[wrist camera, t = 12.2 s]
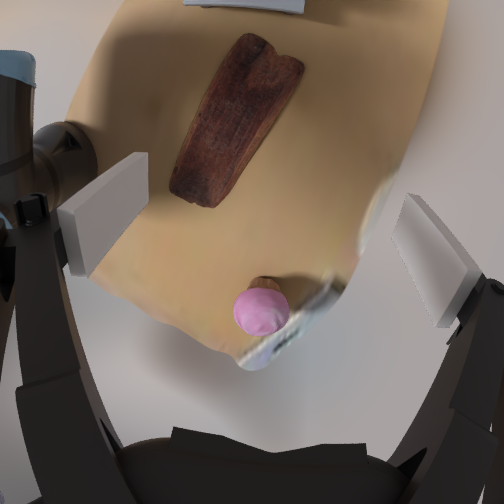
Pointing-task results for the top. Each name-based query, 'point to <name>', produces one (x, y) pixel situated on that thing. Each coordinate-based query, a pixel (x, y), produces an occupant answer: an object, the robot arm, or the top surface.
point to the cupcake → (261, 308)
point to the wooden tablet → (233, 120)
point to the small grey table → (253, 4)
